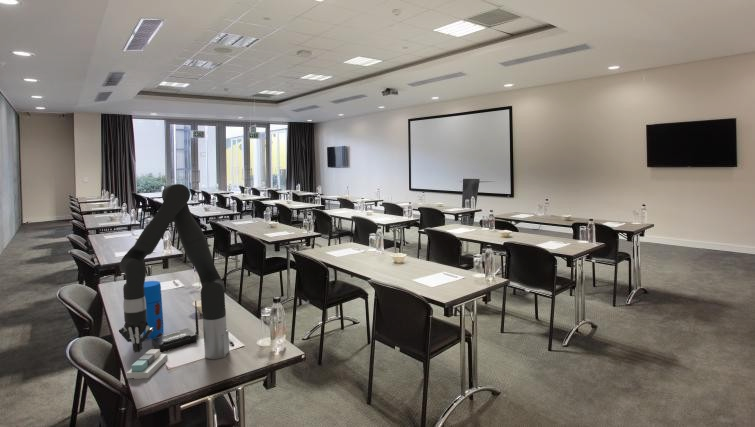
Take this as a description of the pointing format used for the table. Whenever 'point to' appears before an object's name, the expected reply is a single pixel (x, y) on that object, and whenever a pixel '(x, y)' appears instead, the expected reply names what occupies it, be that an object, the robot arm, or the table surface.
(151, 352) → the key
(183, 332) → the black wifi router
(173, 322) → the table surface
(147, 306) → the thermos
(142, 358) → the key
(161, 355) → the keypad
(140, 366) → the key
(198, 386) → the table surface
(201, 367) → the table surface
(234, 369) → the table surface
